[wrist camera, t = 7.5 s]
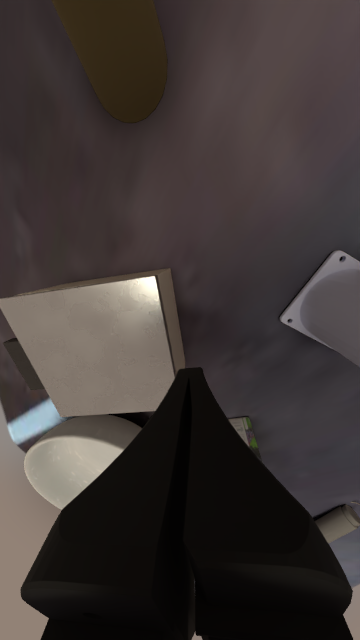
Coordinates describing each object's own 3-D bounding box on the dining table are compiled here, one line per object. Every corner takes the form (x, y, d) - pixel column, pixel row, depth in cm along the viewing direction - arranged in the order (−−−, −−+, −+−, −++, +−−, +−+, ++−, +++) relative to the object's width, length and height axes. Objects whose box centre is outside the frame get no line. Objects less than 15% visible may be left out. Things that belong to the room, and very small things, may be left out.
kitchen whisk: (370, 504, 30) (412, 566, 24) (248, 554, 42) (257, 603, 36) (344, 491, 29) (380, 551, 23) (228, 546, 42) (233, 594, 36)
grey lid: (157, 274, 12) (154, 276, 11) (181, 400, 16) (180, 409, 15) (-9, 298, 13) (-23, 302, 12) (53, 409, 18) (46, 417, 17)
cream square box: (170, 268, 18) (157, 274, 12) (185, 362, 22) (181, 399, 16) (69, 282, 19) (17, 294, 14) (101, 367, 24) (72, 403, 18)
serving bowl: (181, 404, 25) (176, 456, 18) (171, 482, 33) (164, 537, 26) (49, 384, 26) (0, 427, 20) (70, 464, 34) (40, 513, 27)
